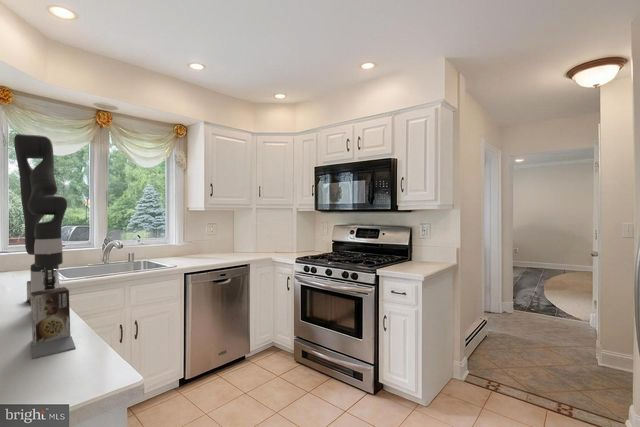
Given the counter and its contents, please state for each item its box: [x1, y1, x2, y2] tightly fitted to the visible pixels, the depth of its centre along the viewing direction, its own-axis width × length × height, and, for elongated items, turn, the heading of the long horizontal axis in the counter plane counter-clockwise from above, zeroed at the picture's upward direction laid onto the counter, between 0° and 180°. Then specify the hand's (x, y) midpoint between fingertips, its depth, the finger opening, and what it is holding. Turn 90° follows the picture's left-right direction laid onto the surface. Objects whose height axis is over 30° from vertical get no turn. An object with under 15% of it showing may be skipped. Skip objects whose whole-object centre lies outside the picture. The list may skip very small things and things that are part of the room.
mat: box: [31, 335, 76, 360], centre depth 99 cm, size 12×10×1 cm
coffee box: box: [30, 286, 71, 344], centre depth 107 cm, size 9×6×16 cm
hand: (49, 300), depth 112 cm, fingers closed
